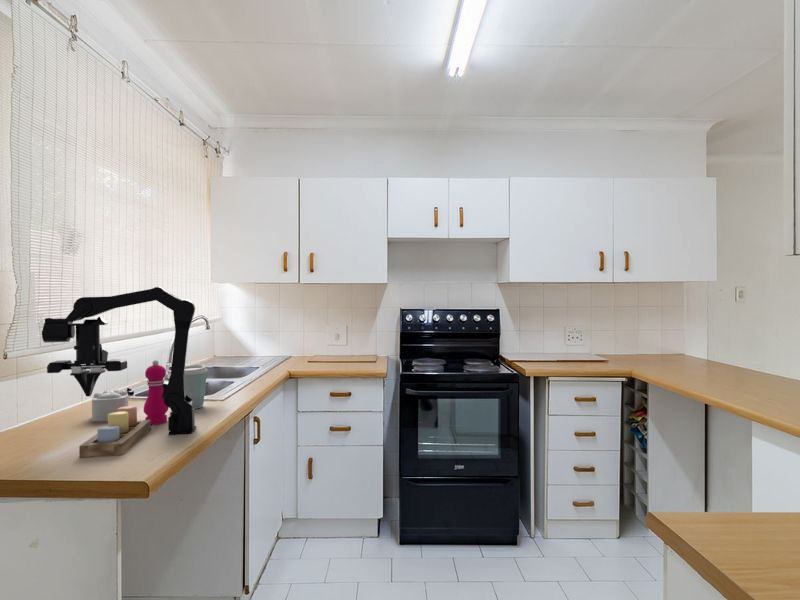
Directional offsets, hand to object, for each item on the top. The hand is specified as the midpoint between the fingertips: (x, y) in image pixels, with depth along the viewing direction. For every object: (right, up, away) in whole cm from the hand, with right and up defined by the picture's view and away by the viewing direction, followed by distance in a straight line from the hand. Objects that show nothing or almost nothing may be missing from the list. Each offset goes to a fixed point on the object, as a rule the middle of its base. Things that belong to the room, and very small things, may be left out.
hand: (88, 396), depth 140 cm
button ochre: (+10, -10, -2) cm, 14 cm away
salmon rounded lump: (+8, -9, +5) cm, 13 cm away
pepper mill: (+10, -12, +19) cm, 25 cm away
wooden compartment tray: (+10, -13, -2) cm, 16 cm away
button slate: (+11, -12, -9) cm, 18 cm away
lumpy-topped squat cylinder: (-9, -12, +27) cm, 31 cm away
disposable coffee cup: (+13, -12, +39) cm, 43 cm away
